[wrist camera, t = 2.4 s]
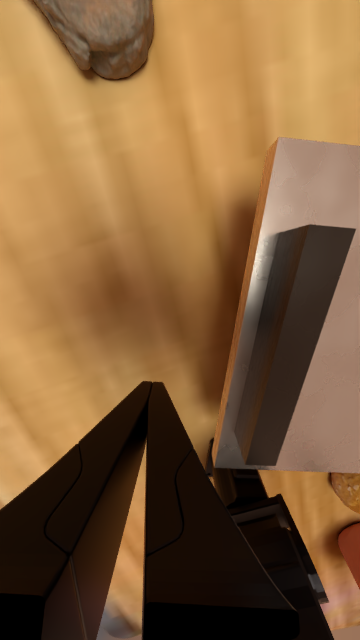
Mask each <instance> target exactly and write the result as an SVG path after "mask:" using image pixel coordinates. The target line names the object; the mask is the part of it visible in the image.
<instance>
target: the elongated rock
mask: <svg viewBox="0 0 360 640" xmlns="http://www.w3.org/2000/svg"><path fill="white" fill-rule="evenodd" d="M34 2H35V3H36V4H37V6H38V7H39V8H40V9H41V11H42V12H43V13H44V15H45V16H46V17H47V18H48V19H49V21H50V23H51V25H52V27H53V29H54V31H55V32H56V33H57V34H58V35H59V36H60V39H61V41H62V42H63V44H65V45H66V46H67V48H68V50H69V52H70V54H71V55H72V57H73V59H74V60H75V62H76V63H77V65H78V66H79V68H80V69H81V70H88V69H89V68H90V67H92V68H93V69H94V71H95V72H96V73H98V74H99V75H100V76H102V77H105V78H108V79H109V78H113V79H119V78H123V77H129V76H130V74H131V73H134V72H135V71H136V70H137V69H139V68H140V67H141V65H142V64H143V63H144V62H145V61H146V59H147V55H148V49H149V47H150V44H151V41H152V34H153V25H154V16H153V7H152V0H34Z"/></svg>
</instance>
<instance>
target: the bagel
mask: <svg viewBox="0 0 360 640" xmlns="http://www.w3.org/2000/svg"><path fill="white" fill-rule="evenodd" d="M331 477H332V485H333V489H334V491H335V493H336V494H337V496H338V497H339V498H340V499H341V501H342V502H343V503H344V505H346V506H347V507H349V508H350V509H351V510H353V511H355V512H357V513H359V514H360V473H337V472H332V473H331Z"/></svg>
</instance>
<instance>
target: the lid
mask: <svg viewBox="0 0 360 640" xmlns="http://www.w3.org/2000/svg"><path fill="white" fill-rule="evenodd" d="M212 458H213V464H214V468H234V469H260V470H286V471H311V472H337V473H360V146H354V145H346V144H337V143H328V142H319V141H310V140H301V139H292V138H284V137H278V138H277V140H276V141H275V142H274V143H273V144H272V146H271V147H270V148H269V149H268V151H267V153H266V158H265V164H264V169H263V174H262V180H261V185H260V191H259V196H258V202H257V207H256V213H255V218H254V224H253V229H252V235H251V240H250V246H249V251H248V257H247V262H246V268H245V273H244V279H243V284H242V290H241V295H240V301H239V306H238V311H237V317H236V322H235V328H234V333H233V339H232V344H231V350H230V355H229V361H228V366H227V372H226V377H225V383H224V388H223V394H222V399H221V405H220V410H219V416H218V421H217V427H216V432H215V438H214V443H213V448H212Z"/></svg>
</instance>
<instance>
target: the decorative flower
mask: <svg viewBox="0 0 360 640" xmlns="http://www.w3.org/2000/svg"><path fill="white" fill-rule="evenodd" d="M338 545H339V548H340V550H341V552H342V554H343V556H344V558H345V560H346V562H347V565H348V567H349V569H350V571H351V573H352V575H353V577H354V579H355V581H356V583H357V585H358V587H359V589H360V523H357V524H354V525H351V526H349V527H347V528H346V529H344V530H343V531H342V532H341V533H340V535H339V538H338Z"/></svg>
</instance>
